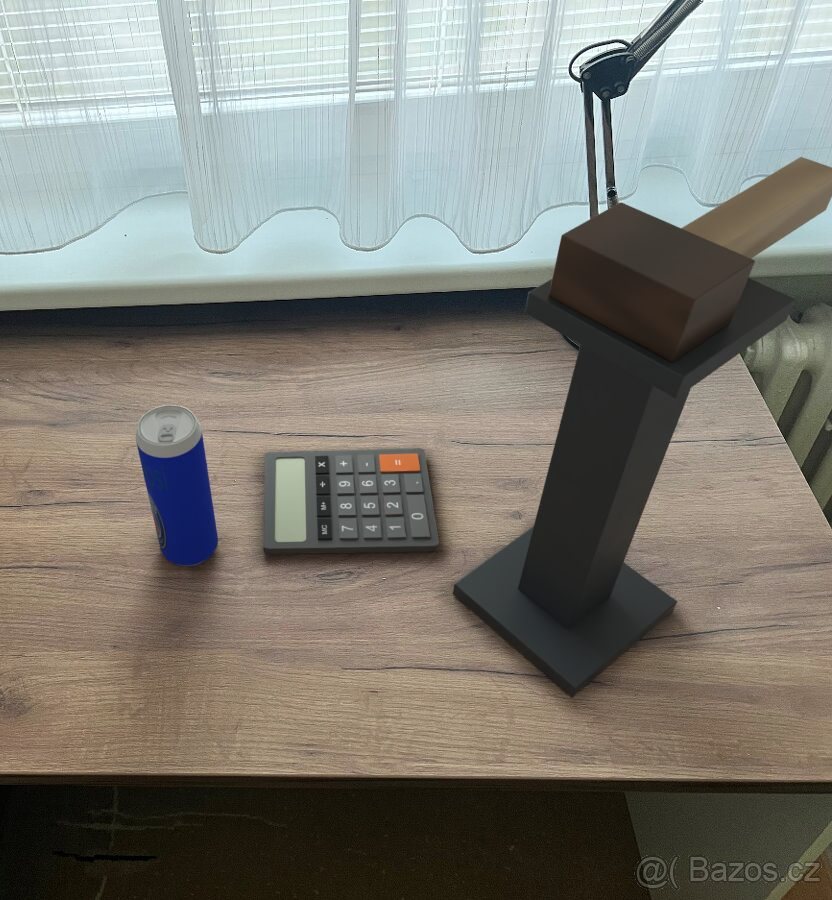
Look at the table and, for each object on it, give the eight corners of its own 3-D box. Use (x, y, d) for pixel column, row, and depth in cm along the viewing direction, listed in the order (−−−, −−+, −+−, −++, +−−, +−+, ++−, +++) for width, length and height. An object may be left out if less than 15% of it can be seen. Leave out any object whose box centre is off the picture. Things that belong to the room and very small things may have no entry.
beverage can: (163, 525, 80) (137, 403, 69) (219, 523, 79) (202, 400, 68) (158, 570, 76) (129, 449, 65) (217, 569, 75) (198, 447, 65)
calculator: (439, 544, 74) (262, 547, 75) (438, 551, 75) (263, 553, 76) (424, 446, 82) (265, 450, 84) (423, 453, 83) (265, 457, 84)
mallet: (871, 227, 52) (902, 164, 49) (672, 363, 45) (695, 299, 42) (745, 179, 57) (766, 120, 54) (548, 296, 50) (560, 234, 47)
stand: (672, 612, 69) (824, 299, 48) (571, 698, 65) (689, 396, 43) (550, 522, 76) (635, 215, 55) (452, 594, 72) (502, 291, 51)
